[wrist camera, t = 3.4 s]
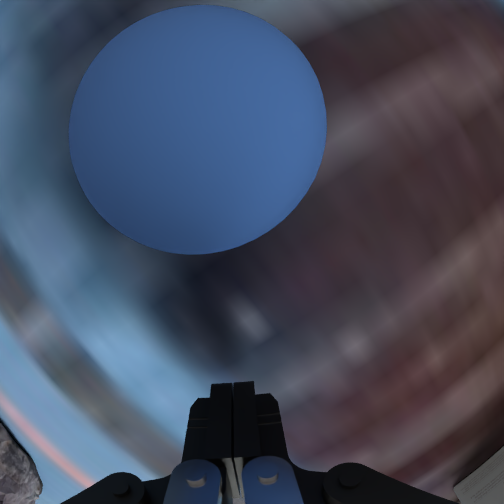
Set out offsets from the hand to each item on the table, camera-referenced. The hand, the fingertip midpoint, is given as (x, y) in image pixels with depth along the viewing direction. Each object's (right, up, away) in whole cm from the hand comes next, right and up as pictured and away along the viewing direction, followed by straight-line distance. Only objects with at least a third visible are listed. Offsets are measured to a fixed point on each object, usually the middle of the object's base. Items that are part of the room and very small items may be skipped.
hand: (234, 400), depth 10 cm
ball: (-1, +8, -3) cm, 9 cm away
